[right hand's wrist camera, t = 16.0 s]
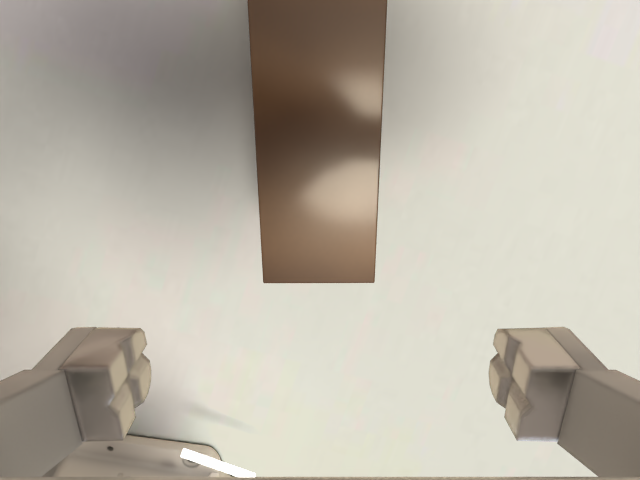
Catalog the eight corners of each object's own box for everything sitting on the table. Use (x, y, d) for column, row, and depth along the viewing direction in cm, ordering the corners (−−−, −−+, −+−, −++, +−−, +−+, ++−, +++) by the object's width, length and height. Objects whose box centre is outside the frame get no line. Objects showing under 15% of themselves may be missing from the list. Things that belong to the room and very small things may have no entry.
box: (358, 218, 35) (374, 283, 25) (280, 218, 35) (263, 283, 25) (370, -207, 26) (405, -400, 15) (264, -206, 26) (225, -399, 15)
